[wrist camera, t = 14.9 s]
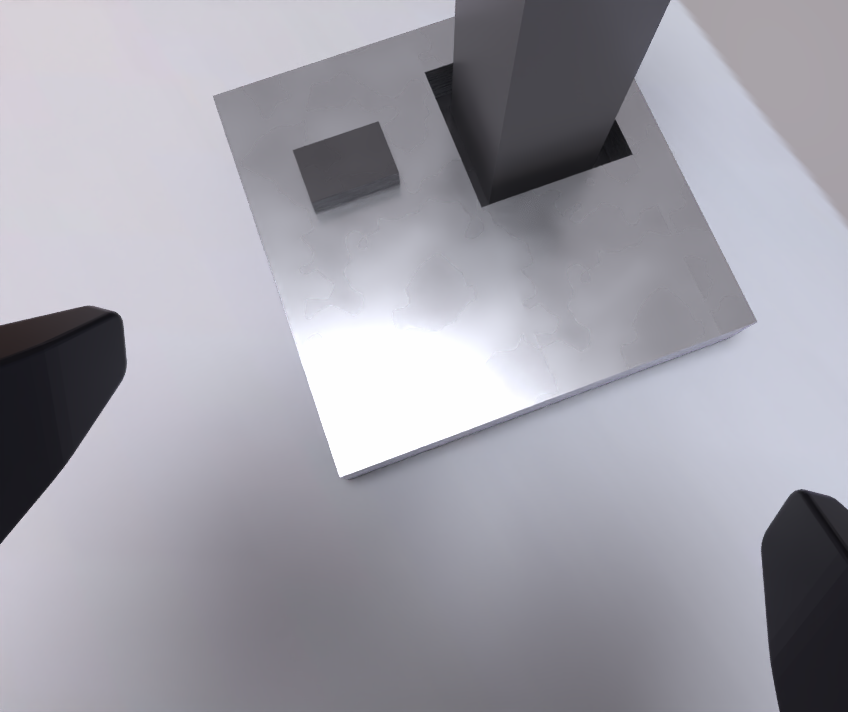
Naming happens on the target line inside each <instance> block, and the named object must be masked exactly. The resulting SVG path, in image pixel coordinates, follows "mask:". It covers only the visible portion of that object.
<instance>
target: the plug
mask: <svg viewBox="0 0 848 712" xmlns="http://www.w3.org/2000/svg"><path fill="white" fill-rule="evenodd" d="M669 2H670V0H456V4H455V28H454V52H453V77H452V101H451V113H452V116H453V118H454V120H455V123H456V125H457V128H458V130H459V133H460V135H461V138H462V140H463V143H464V145H465V148H466V150H467V152H468V155H469V157H470V160H471V162H472V165H473V167H474V170H475V172H476V175H477V177H478V180H479V182H480V184H481V187H482V189H483V192H484V194H485V197H486V199H487V202H488V204H492V203H495V202H498V201H501V200H504V199H507V198H510V197H513V196H516V195H519V194H522V193H524V192H527V191H530V190H533V189H536V188H539V187H542V186H544V185H547V184H550V183H553V182H556V181H559V180H562V179H564V178H567V177H570V176H573V175H576V174H579V173H582V172H585V171H587V170H590V169H592V168H593V166H594V163H595V161H596V159H597V157H598V155H599V153H600V151H601V148H602V146H603V144H604V142H605V140H606V138H607V135H608V133H609V131H610V129H611V127H612V125H613V123H614V120H615V118H616V116H617V114H618V112H619V110H620V108H621V105H622V103H623V101H624V99H625V97H626V95H627V92H628V90H629V88H630V86H631V84H632V82H633V80H634V77H635V75H636V73H637V71H638V69H639V67H640V65H641V62H642V60H643V58H644V56H645V54H646V52H647V49H648V47H649V45H650V43H651V41H652V39H653V37H654V34H655V32H656V30H657V28H658V26H659V24H660V22H661V19H662V17H663V15H664V13H665V11H666V9H667V6H668V4H669Z"/></svg>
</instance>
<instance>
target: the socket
mask: <svg viewBox="0 0 848 712" xmlns="http://www.w3.org/2000/svg"><path fill="white" fill-rule="evenodd" d="M454 28H455V17H452V18H449V19H446V20H443V21H440V22H437V23H434V24H431V25H428V26H425V27H422V28H419V29H416V30H413V31H410V32H406V33H403V34H400V35H397V36H394V37H391V38H388V39H385V40H382V41H379V42H376V43H373V44H370V45H367V46H364V47H361V48H358V49H355V50H352V51H349V52H346V53H343V54H339V55H336V56H333V57H330V58H327V59H324V60H321V61H318V62H315V63H312V64H309V65H306V66H303V67H300V68H297V69H294V70H291V71H288V72H285V73H282V74H279V75H276V76H273V77H269V78H266V79H263V80H260V81H257V82H254V83H251V84H248V85H245V86H242V87H239V88H236V89H233V90H230V91H227V92H224V93H221V94H218V95H215V96H213V98H214V101H215V104H216V107H217V110H218V113H219V116H220V119H221V122H222V125H223V128H224V131H225V134H226V137H227V140H228V143H229V146H230V149H231V152H232V155H233V158H234V161H235V164H236V167H237V170H238V173H239V176H240V179H241V182H242V185H243V188H244V191H245V194H246V197H247V200H248V203H249V206H250V209H251V212H252V215H253V218H254V221H255V224H256V227H257V230H258V233H259V236H260V239H261V242H262V245H263V248H264V251H265V254H266V257H267V260H268V263H269V266H270V269H271V272H272V275H273V278H274V281H275V284H276V287H277V290H278V293H279V296H280V299H281V302H282V305H283V308H284V311H285V314H286V317H287V320H288V323H289V326H290V329H291V332H292V335H293V338H294V341H295V344H296V347H297V350H298V353H299V356H300V359H301V362H302V365H303V368H304V371H305V374H306V377H307V380H308V383H309V386H310V389H311V392H312V395H313V398H314V401H315V404H316V407H317V410H318V413H319V416H320V419H321V422H322V425H323V428H324V431H325V434H326V437H327V440H328V443H329V446H330V449H331V452H332V455H333V458H334V461H335V464H336V467H337V470H338V473H339V476H340V477H341V478H344V479H347V480H349V479H352V478H354V477H357V476H360V475H363V474H365V473H368V472H371V471H373V470H376V469H379V468H381V467H384V466H387V465H389V464H392V463H395V462H397V461H400V460H403V459H406V458H408V457H411V456H414V455H416V454H419V453H422V452H424V451H427V450H430V449H432V448H435V447H438V446H440V445H443V444H446V443H448V442H451V441H454V440H457V439H459V438H462V437H465V436H467V435H470V434H473V433H475V432H478V431H481V430H483V429H486V428H489V427H491V426H494V425H497V424H500V423H502V422H505V421H508V420H510V419H513V418H516V417H518V416H521V415H524V414H526V413H529V412H532V411H534V410H537V409H540V408H542V407H545V406H548V405H551V404H553V403H556V402H559V401H561V400H564V399H567V398H569V397H572V396H575V395H577V394H580V393H583V392H585V391H588V390H591V389H594V388H596V387H599V386H602V385H604V384H607V383H610V382H612V381H615V380H618V379H620V378H623V377H626V376H628V375H631V374H634V373H636V372H639V371H642V370H645V369H647V368H650V367H653V366H655V365H658V364H661V363H663V362H666V361H669V360H671V359H674V358H677V357H679V356H682V355H685V354H688V353H690V352H693V351H696V350H698V349H701V348H704V347H706V346H709V345H712V344H714V343H717V342H720V341H722V340H725V339H728V338H730V337H732V336H734V335H735V334H737V333H739V332H741V331H742V330H744V329H746V328H748V327H749V326H751V325H753V324H755V323H756V322H757V320H756V318H755V316H754V314H753V312H752V310H751V309H750V307H749V305H748V303H747V301H746V299H745V297H744V295H743V293H742V291H741V289H740V287H739V285H738V283H737V281H736V279H735V277H734V275H733V273H732V271H731V269H730V267H729V265H728V263H727V261H726V259H725V257H724V255H723V253H722V251H721V249H720V247H719V245H718V243H717V241H716V239H715V237H714V235H713V233H712V231H711V229H710V227H709V225H708V223H707V221H706V219H705V218H704V216H703V214H702V212H701V210H700V208H699V206H698V204H697V202H696V200H695V198H694V196H693V194H692V192H691V190H690V188H689V186H688V184H687V182H686V180H685V178H684V176H683V174H682V172H681V170H680V168H679V166H678V164H677V162H676V160H675V158H674V156H673V154H672V152H671V150H670V148H669V146H668V144H667V142H666V140H665V138H664V136H663V134H662V132H661V130H660V129H659V127H658V125H657V123H656V121H655V119H654V117H653V115H652V113H651V111H650V109H649V107H648V105H647V103H646V101H645V99H644V97H643V95H642V93H641V91H640V89H639V87H638V85H637V83H636V81H635V79H634V80H633V82H632V84H631V86H630V88H629V90H628V92H627V95H626V97H625V99H624V101H623V103H622V105H621V108H620V110H619V112H618V114H617V116H616V118H615V120H614V123H613V125H612V127H611V129H610V131H609V133H608V135H607V138H606V140H605V142H604V144H603V146H602V148H601V151H600V153H599V155H598V157H597V159H596V161H595V163H594V166H593V168H592V169H590V170H587V171H585V172H582V173H579V174H576V175H573V176H570V177H567V178H564V179H562V180H559V181H556V182H553V183H550V184H547V185H544V186H542V187H539V188H536V189H533V190H530V191H527V192H524V193H522V194H519V195H516V196H513V197H510V198H507V199H504V200H501V201H498V202H495V203H492V204H488V202H487V199H486V197H485V194H484V192H483V189H482V187H481V184H480V182H479V180H478V177H477V175H476V172H475V170H474V167H473V165H472V162H471V160H470V157H469V155H468V152H467V150H466V148H465V145H464V143H463V140H462V138H461V135H460V133H459V130H458V128H457V125H456V123H455V120H454V118H453V116H452V113H451V101H452V77H453V52H454Z"/></svg>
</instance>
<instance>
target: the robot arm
mask: <svg viewBox="0 0 848 712" xmlns="http://www.w3.org/2000/svg"><path fill="white" fill-rule="evenodd" d="M126 366H127V359H126V348H125V337H124V326H123V320H122V318H121V316H120V315H119V314H118V313H116V312H114V311H110V310H106V309H103V308H99V307H95V306H83V307H79V308H74V309H70V310H66V311H61V312H57V313H52V314H48V315H44V316H39V317H35V318H31V319H26V320H22V321H17V322H13V323H9V324H4V325H0V544H1V543H2V542H3V540H4V539H5V538H6V537H7V536H8V534H9V533H10V532H11V531H12V530H13V528H14V527H15V526H16V525H17V524H18V522H19V521H20V520H21V519H22V518H23V516H24V515H25V514H26V513H27V512H28V510H29V509H30V508H31V507H32V506H33V504H34V503H35V502H36V501H37V500H38V498H39V497H40V496H41V495H42V494H43V492H44V491H45V490H46V489H47V488H48V486H49V485H50V484H51V483H52V482H53V480H54V479H55V478H56V477H57V475H58V474H59V473H60V471H61V470H62V469H63V468H64V466H65V465H66V464H67V462H68V461H69V459H70V458H71V457H72V455H73V454H74V452H75V451H76V449H77V448H78V446H79V445H80V443H81V442H82V440H83V439H84V437H85V436H86V434H87V433H88V431H89V430H90V428H91V427H92V425H93V424H94V422H95V421H96V419H97V418H98V416H99V415H100V413H101V412H102V410H103V409H104V407H105V406H106V404H107V403H108V401H109V400H110V398H111V397H112V395H113V394H114V392H115V391H116V389H117V388H118V386H119V385H120V383H121V381H122V380H123V377H124V375H125V372H126ZM761 555H762V568H763V581H764V593H765V606H766V618H767V631H768V644H769V653H770V661H771V668H772V674H773V679H774V685H775V690H776V695H777V700H778V705H779V710H780V712H848V510H847V509H846V508H845V507H844V506H843V505H842V504H841V503H839V502H838V501H837V500H836V499H834V498H832V497H830V496H827V495H823V494H819V493H815V492H812V491H808V490H804V489H800V490H796V491H794V492H793V493H792V494H791V495H790V496H789V497H788V499H787V500H786V502H785V503H784V505H783V506H782V508H781V509H780V511H779V512H778V514H777V515H776V517H775V518H774V520H773V521H772V523H771V524H770V526H769V527H768V529H767V530H766V532H765V534H764V537H763V540H762V546H761Z"/></svg>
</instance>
